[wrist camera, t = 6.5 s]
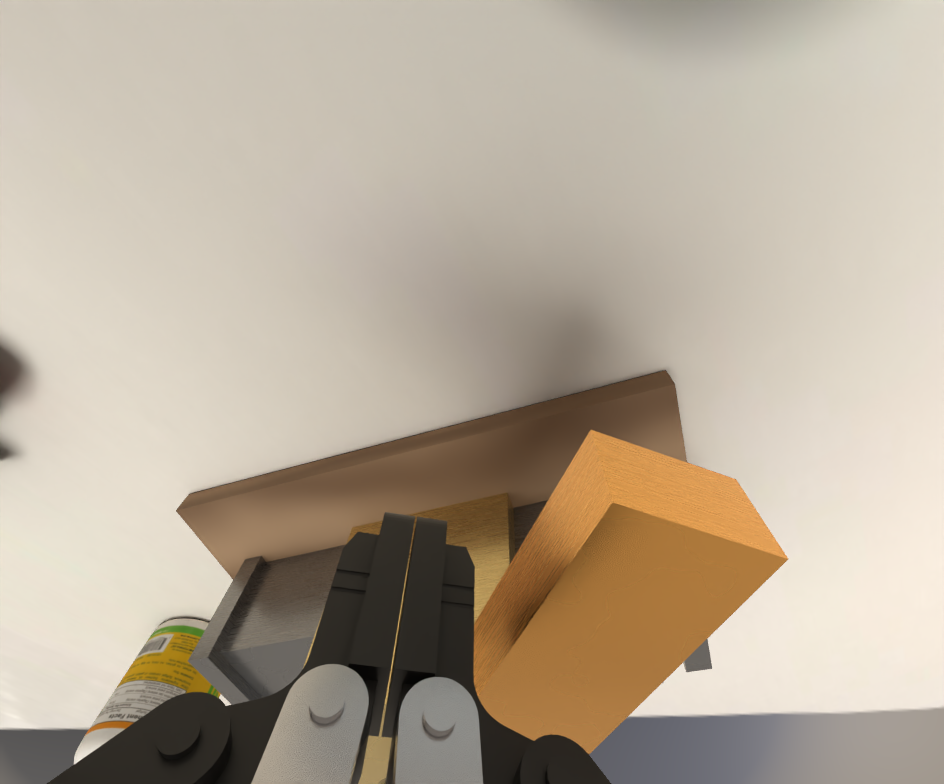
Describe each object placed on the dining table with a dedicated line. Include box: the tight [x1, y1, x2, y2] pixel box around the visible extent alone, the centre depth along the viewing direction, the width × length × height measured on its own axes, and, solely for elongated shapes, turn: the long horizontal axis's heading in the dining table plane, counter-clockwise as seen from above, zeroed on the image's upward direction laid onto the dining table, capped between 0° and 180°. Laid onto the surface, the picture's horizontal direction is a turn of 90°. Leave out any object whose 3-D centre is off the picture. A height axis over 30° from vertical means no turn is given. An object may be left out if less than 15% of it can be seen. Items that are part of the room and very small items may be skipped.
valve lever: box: [378, 430, 788, 784], centre depth 13 cm, size 17×4×2 cm, turn 160°
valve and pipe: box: [188, 492, 712, 784], centre depth 21 cm, size 7×21×10 cm, turn 109°
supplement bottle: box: [74, 618, 221, 764], centre depth 27 cm, size 5×5×10 cm
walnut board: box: [176, 370, 687, 580], centre depth 26 cm, size 14×24×1 cm, turn 109°
